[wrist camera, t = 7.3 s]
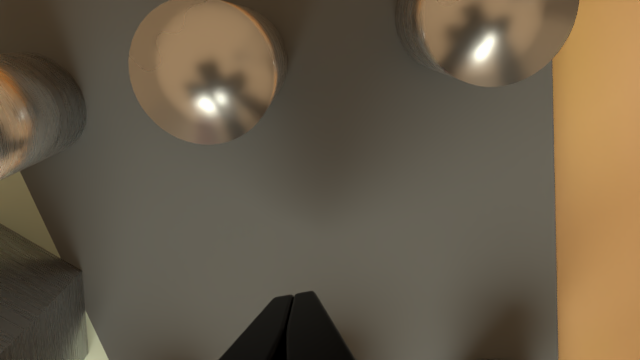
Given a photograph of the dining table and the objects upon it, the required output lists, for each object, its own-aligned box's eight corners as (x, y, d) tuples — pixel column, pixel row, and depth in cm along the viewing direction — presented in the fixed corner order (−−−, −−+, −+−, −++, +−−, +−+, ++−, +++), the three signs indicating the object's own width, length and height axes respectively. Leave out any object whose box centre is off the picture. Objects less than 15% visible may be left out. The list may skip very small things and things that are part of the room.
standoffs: (501, -59, 8) (579, -96, 6) (527, 412, 12) (579, 510, 10) (-36, 64, 9) (-172, 77, 6) (156, 467, 13) (117, 569, 10)
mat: (521, -166, 8) (546, -191, 7) (543, 425, 14) (560, 454, 13) (-37, -29, 9) (-78, -36, 8) (188, 476, 14) (178, 508, 14)
